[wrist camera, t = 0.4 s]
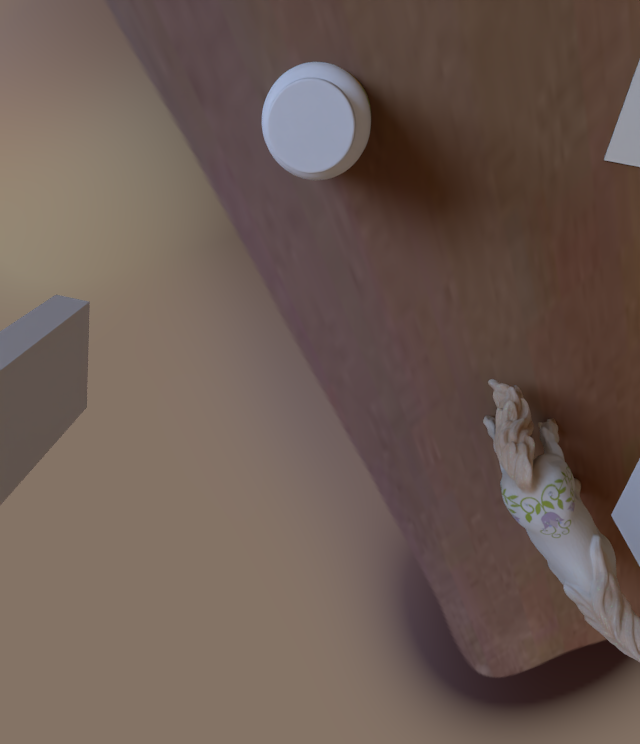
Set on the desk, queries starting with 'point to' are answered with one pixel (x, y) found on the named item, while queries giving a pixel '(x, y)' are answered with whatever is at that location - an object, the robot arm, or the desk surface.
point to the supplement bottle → (316, 120)
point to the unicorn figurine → (559, 518)
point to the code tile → (627, 128)
